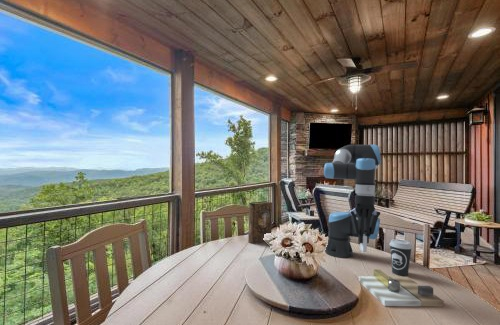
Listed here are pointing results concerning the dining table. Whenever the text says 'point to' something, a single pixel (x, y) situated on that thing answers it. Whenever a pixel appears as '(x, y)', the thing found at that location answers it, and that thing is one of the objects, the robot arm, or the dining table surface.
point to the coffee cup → (400, 256)
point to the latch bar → (387, 281)
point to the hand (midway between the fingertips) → (363, 250)
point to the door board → (401, 292)
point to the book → (259, 221)
